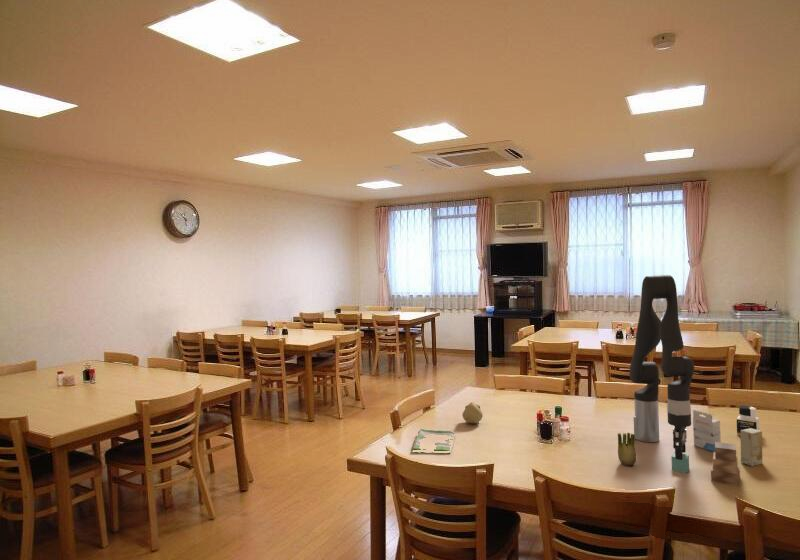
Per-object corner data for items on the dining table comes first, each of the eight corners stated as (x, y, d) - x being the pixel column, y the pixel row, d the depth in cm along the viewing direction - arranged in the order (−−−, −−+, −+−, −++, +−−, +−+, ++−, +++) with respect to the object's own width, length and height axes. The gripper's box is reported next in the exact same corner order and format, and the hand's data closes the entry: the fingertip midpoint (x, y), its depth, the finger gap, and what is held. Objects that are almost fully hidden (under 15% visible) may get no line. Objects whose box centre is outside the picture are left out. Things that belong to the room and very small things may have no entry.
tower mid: (713, 470, 172) (712, 458, 172) (713, 463, 178) (713, 452, 178) (737, 474, 168) (737, 462, 168) (737, 467, 174) (737, 455, 174)
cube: (671, 470, 183) (671, 456, 183) (673, 465, 187) (673, 452, 187) (687, 473, 180) (687, 459, 180) (689, 468, 184) (688, 454, 184)
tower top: (715, 458, 172) (715, 447, 172) (715, 453, 177) (715, 441, 177) (736, 461, 169) (736, 450, 169) (735, 455, 174) (735, 444, 174)
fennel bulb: (617, 464, 190) (616, 432, 189) (622, 460, 193) (621, 429, 193) (633, 468, 185) (632, 436, 185) (638, 464, 189) (637, 432, 189)
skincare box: (752, 466, 183) (751, 433, 183) (740, 462, 187) (739, 430, 187) (763, 463, 185) (762, 430, 185) (751, 459, 189) (750, 427, 189)
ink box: (721, 449, 200) (720, 413, 200) (713, 452, 198) (712, 414, 198) (701, 443, 208) (700, 407, 208) (693, 445, 206) (692, 409, 206)
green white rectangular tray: (455, 436, 229) (455, 429, 229) (452, 455, 206) (451, 446, 206) (418, 435, 232) (418, 428, 232) (410, 454, 209) (410, 445, 209)
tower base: (711, 482, 172) (711, 470, 172) (712, 473, 179) (712, 462, 179) (739, 487, 168) (739, 475, 168) (740, 478, 174) (739, 467, 174)
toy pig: (483, 420, 251) (482, 398, 251) (482, 427, 239) (481, 405, 239) (463, 419, 253) (463, 398, 253) (461, 427, 241) (461, 405, 241)
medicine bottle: (736, 434, 216) (736, 407, 216) (739, 430, 221) (739, 403, 221) (756, 438, 211) (756, 410, 211) (759, 433, 216) (758, 406, 216)
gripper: (670, 405, 191) (672, 448, 191) (664, 414, 179) (665, 459, 179) (693, 408, 186) (694, 451, 186) (688, 417, 175) (689, 463, 175)
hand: (680, 455), depth 183 cm, fingers open, 8 cm apart
